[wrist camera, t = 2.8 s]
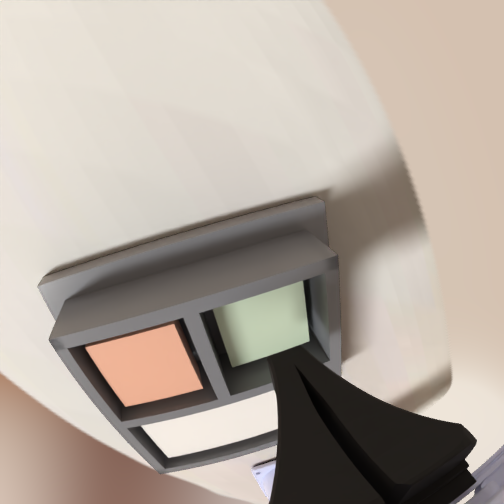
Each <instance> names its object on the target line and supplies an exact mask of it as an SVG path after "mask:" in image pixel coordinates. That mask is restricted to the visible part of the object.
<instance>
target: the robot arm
mask: <svg viewBox="0 0 504 504" xmlns="http://www.w3.org/2000/svg"><path fill="white" fill-rule="evenodd" d="M267 362H268V366H269V371H270V375H271V379H272V383H273V387H274V390H275V393H276V399H277V414H278V442H277V456H276V460H275V461H272V462H268V463H265V464H262V465H259V466H256V467H253V468H252V469H251V471H252V473H253V475H254V477H255V479H256V480H257V482H258V484H259V486H260V487H261V489H262V491H263V492H264V494H265V496H266V497H268V500H269V504H456V503H457V502H459V501H460V500H462V499H463V498H464V497H465V496H467V495H468V494H469V493H470V492H471V491H473V490H474V489H475V488H476V489H475V494H474V496H473V497H472V498H471V499H470V500H469V501H467V502H466V503H465V504H504V445H503V446H502V447H501V448H500V449H499V450H498V451H497V452H496V453H495V454H494V455H493V456H491V457H490V458H489V459H488V460H487V461H486V462H485V463H484V464H482V465H481V466H480V467H479V468H478V469H477V470H476V471H474V472H473V473H472V474H471V473H470V472H469V471H468V470H467V468H468V467H469V465H468V463H467V462H466V461H465V458H466V457H467V456H468V455H469V453H470V452H471V451H472V450H473V448H474V447H475V445H476V442H477V440H476V439H475V437H474V436H473V435H472V434H471V433H470V432H469V431H468V430H467V429H466V428H465V427H464V426H463V425H462V424H458V423H452V422H446V421H441V420H437V419H432V418H429V417H424V416H421V415H418V414H415V413H412V412H409V411H406V410H403V409H401V408H398V407H395V406H393V405H391V404H388V403H386V402H384V401H382V400H380V399H378V398H375V397H373V396H372V395H370V394H368V393H366V392H364V391H362V390H361V389H359V388H357V387H356V386H354V385H352V384H351V383H349V382H348V381H346V380H345V379H343V378H342V377H340V376H339V375H338V374H336V373H335V372H333V371H332V370H331V369H329V368H328V367H327V366H325V365H324V364H323V363H322V362H320V361H319V360H318V359H317V358H315V357H314V356H313V355H312V354H311V353H310V352H309V351H307V350H306V349H305V348H304V347H303V346H301V345H299V346H296V347H293V348H291V349H288V350H285V351H282V352H279V353H277V354H274V355H271V356H269V357H268V358H267Z"/></svg>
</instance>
